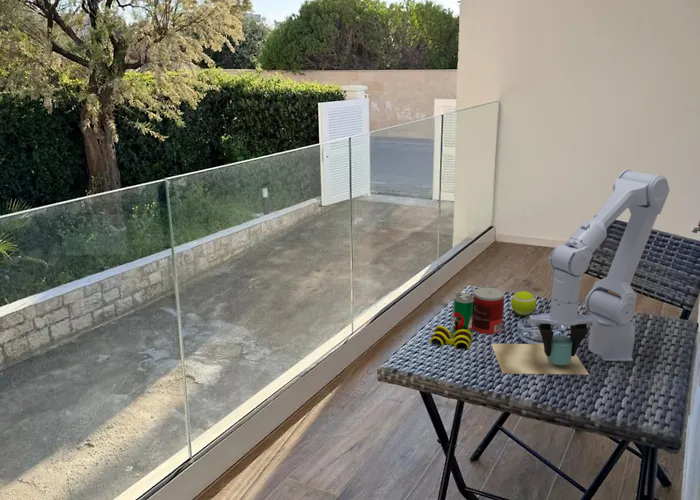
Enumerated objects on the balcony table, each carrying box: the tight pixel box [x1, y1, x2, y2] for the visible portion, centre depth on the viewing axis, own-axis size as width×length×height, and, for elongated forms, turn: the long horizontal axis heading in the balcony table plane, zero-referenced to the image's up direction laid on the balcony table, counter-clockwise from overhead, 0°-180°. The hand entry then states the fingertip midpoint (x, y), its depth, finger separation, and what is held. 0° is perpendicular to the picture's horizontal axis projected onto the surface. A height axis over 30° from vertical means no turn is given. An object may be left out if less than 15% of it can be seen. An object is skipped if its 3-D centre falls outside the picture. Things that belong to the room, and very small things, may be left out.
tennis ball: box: [510, 290, 537, 316], centre depth 170 cm, size 7×7×7 cm
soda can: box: [451, 292, 474, 337], centre depth 154 cm, size 5×5×12 cm
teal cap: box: [547, 334, 573, 365], centre depth 139 cm, size 5×5×5 cm
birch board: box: [491, 343, 590, 376], centre depth 143 cm, size 19×15×1 cm
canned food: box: [473, 287, 505, 335], centre depth 159 cm, size 8×8×11 cm
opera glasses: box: [429, 325, 474, 350], centre depth 151 cm, size 10×5×5 cm, turn 68°
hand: (559, 354), depth 139 cm, fingers closed on teal cap, 5 cm apart
